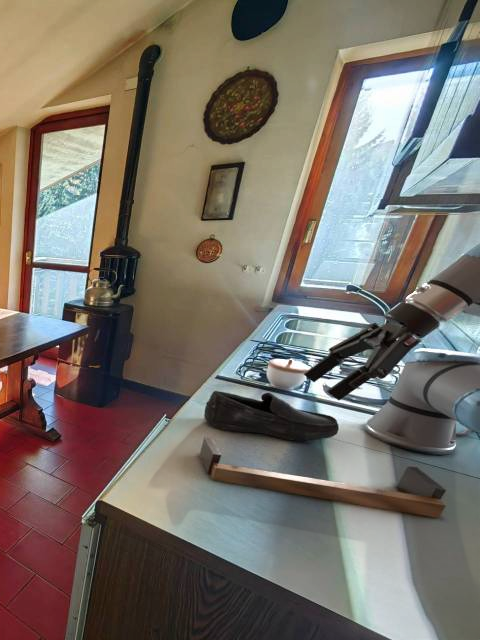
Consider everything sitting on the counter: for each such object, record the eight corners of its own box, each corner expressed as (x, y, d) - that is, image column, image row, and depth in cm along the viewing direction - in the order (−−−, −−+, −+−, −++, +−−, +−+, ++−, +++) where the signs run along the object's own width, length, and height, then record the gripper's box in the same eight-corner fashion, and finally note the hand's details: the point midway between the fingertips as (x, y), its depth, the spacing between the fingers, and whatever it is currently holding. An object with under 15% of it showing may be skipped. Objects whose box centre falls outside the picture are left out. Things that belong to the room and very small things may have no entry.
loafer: (342, 448, 93) (360, 410, 89) (210, 434, 98) (221, 398, 94) (316, 427, 102) (330, 392, 99) (197, 416, 108) (206, 382, 104)
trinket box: (254, 380, 133) (262, 354, 129) (282, 379, 134) (291, 353, 130) (280, 393, 123) (290, 365, 119) (311, 392, 124) (321, 364, 121)
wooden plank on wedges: (405, 487, 79) (416, 467, 78) (441, 518, 71) (455, 496, 69) (199, 455, 90) (204, 436, 88) (209, 479, 81) (215, 459, 79)
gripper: (373, 295, 89) (287, 362, 99) (447, 307, 67) (328, 392, 77) (402, 316, 88) (312, 381, 98) (487, 335, 66) (361, 417, 76)
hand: (319, 386), depth 88 cm, fingers open, 13 cm apart
